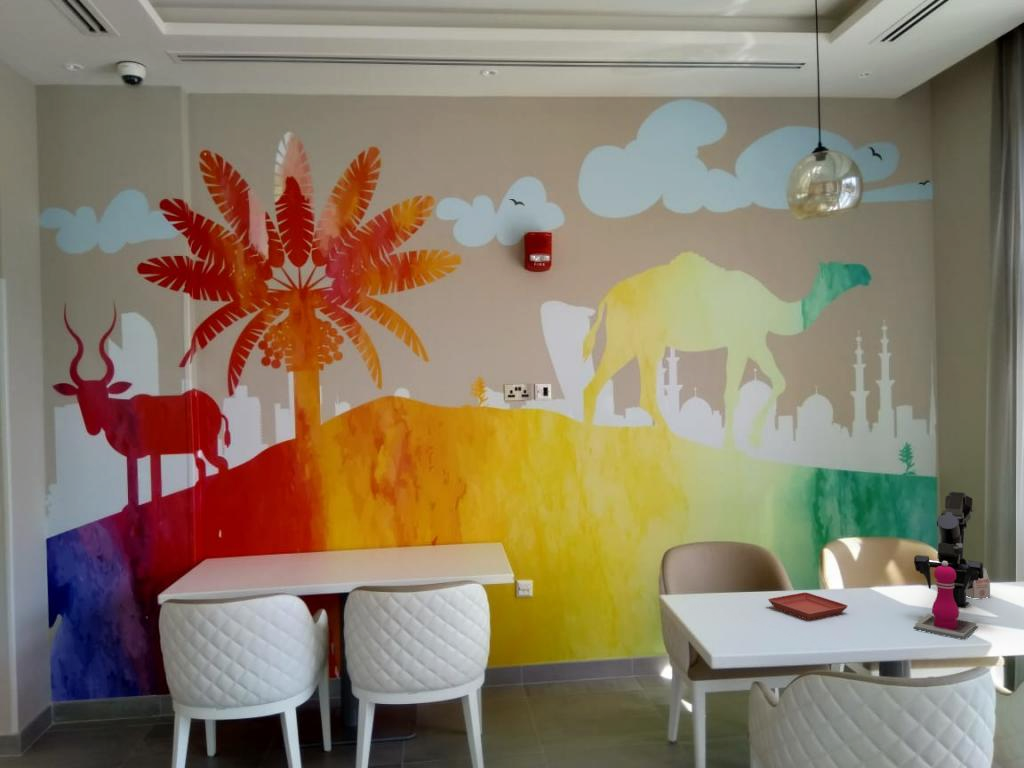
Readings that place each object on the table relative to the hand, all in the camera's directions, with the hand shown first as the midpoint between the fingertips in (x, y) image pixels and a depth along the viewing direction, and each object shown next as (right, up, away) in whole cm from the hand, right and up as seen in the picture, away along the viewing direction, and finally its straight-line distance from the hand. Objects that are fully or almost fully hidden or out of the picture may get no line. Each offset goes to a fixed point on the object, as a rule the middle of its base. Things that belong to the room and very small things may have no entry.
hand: (946, 590), depth 239 cm
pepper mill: (-1, -11, -2) cm, 11 cm away
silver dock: (-2, -11, -2) cm, 12 cm away
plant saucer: (-36, -12, +18) cm, 42 cm away
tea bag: (+28, -11, +31) cm, 44 cm away
